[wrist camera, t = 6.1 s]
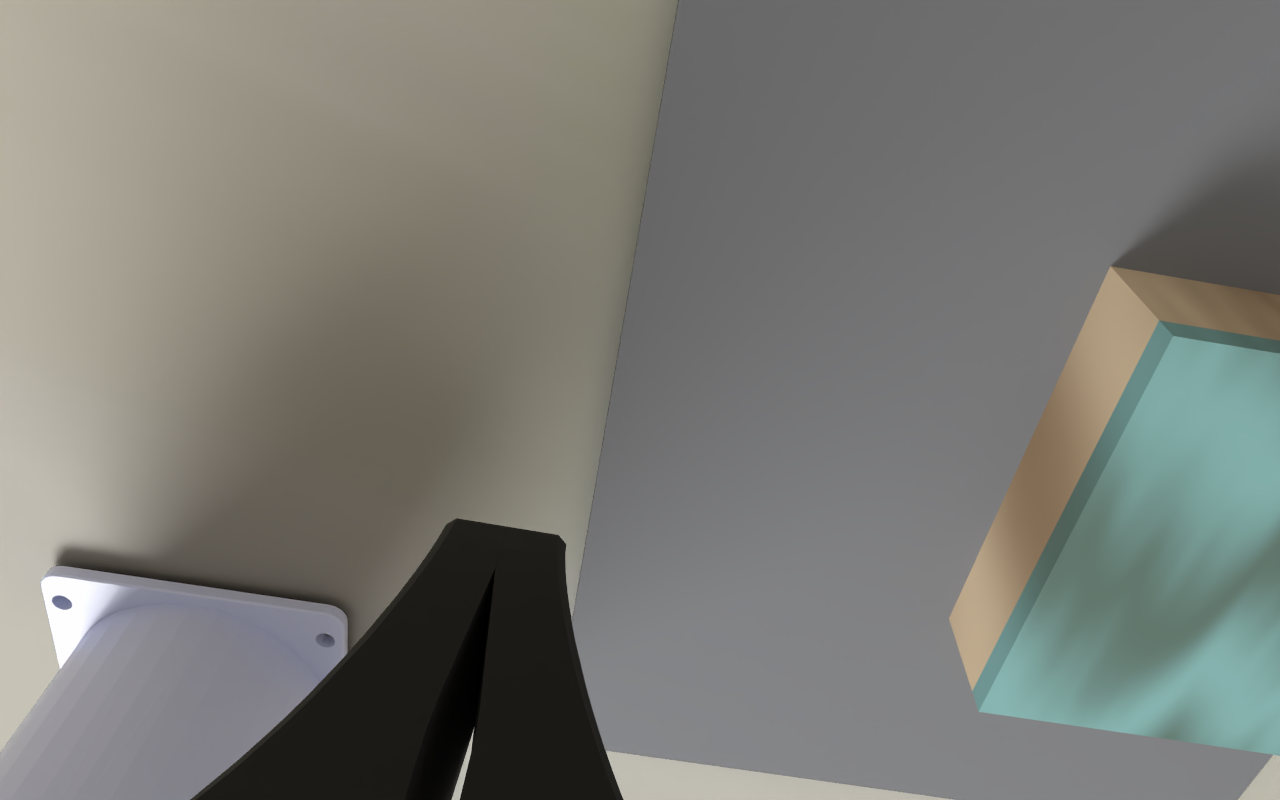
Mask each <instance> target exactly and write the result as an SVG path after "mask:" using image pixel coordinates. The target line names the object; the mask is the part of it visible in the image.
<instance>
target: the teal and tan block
mask: <svg viewBox="0 0 1280 800" xmlns="http://www.w3.org/2000/svg"><path fill="white" fill-rule="evenodd" d="M949 620H950V624H951V627H952V630H953V633H954V636H955V639H956V642H957V645H958V649H959V652H960V655H961V658H962V661H963V664H964V667H965V671H966V674H967V677H968V680H969V683H970V686H971V689H972V692H973V696H974V699H975V702H976V705H977V708H978V711H979V712H984V713H990V714H997V715H1004V716H1011V717H1018V718H1025V719H1032V720H1039V721H1046V722H1052V723H1059V724H1066V725H1073V726H1080V727H1087V728H1094V729H1101V730H1108V731H1114V732H1121V733H1128V734H1135V735H1142V736H1149V737H1156V738H1163V739H1170V740H1176V741H1183V742H1190V743H1197V744H1204V745H1211V746H1218V747H1225V748H1232V749H1238V750H1245V751H1252V752H1259V753H1266V754H1273V755H1280V295H1277V294H1271V293H1265V292H1259V291H1253V290H1247V289H1241V288H1236V287H1230V286H1224V285H1218V284H1212V283H1206V282H1200V281H1194V280H1188V279H1183V278H1177V277H1171V276H1165V275H1159V274H1153V273H1147V272H1141V271H1136V270H1130V269H1124V268H1118V267H1112V266H1110V268H1109V270H1108V272H1107V274H1106V277H1105V279H1104V281H1103V283H1102V285H1101V287H1100V290H1099V292H1098V294H1097V296H1096V298H1095V301H1094V303H1093V305H1092V307H1091V309H1090V311H1089V314H1088V316H1087V318H1086V320H1085V322H1084V325H1083V327H1082V329H1081V331H1080V333H1079V335H1078V338H1077V340H1076V342H1075V344H1074V346H1073V349H1072V351H1071V353H1070V355H1069V357H1068V359H1067V362H1066V364H1065V366H1064V368H1063V370H1062V373H1061V375H1060V377H1059V379H1058V381H1057V384H1056V386H1055V388H1054V390H1053V392H1052V394H1051V397H1050V399H1049V401H1048V403H1047V405H1046V408H1045V410H1044V412H1043V414H1042V416H1041V418H1040V421H1039V423H1038V425H1037V427H1036V429H1035V432H1034V434H1033V436H1032V438H1031V440H1030V442H1029V445H1028V447H1027V449H1026V451H1025V453H1024V456H1023V458H1022V460H1021V462H1020V464H1019V466H1018V469H1017V471H1016V473H1015V475H1014V477H1013V480H1012V482H1011V484H1010V486H1009V488H1008V490H1007V493H1006V495H1005V497H1004V499H1003V501H1002V504H1001V506H1000V508H999V510H998V512H997V514H996V517H995V519H994V521H993V523H992V525H991V528H990V530H989V532H988V534H987V536H986V538H985V541H984V543H983V545H982V547H981V549H980V552H979V554H978V556H977V558H976V560H975V563H974V565H973V567H972V569H971V571H970V573H969V576H968V578H967V580H966V582H965V584H964V587H963V589H962V591H961V593H960V595H959V597H958V600H957V602H956V604H955V606H954V608H953V611H952V613H951V615H950V617H949Z"/></svg>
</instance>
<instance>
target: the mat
mask: <svg viewBox="0 0 1280 800" xmlns="http://www.w3.org/2000/svg"><path fill="white" fill-rule="evenodd" d="M1110 266H1112V267H1118V268H1124V269H1130V270H1136V271H1141V272H1147V273H1153V274H1159V275H1165V276H1171V277H1177V278H1183V279H1188V280H1194V281H1200V282H1206V283H1212V284H1218V285H1224V286H1230V287H1236V288H1241V289H1247V290H1253V291H1259V292H1265V293H1271V294H1277V295H1280V0H678V6H677V12H676V18H675V24H674V29H673V35H672V41H671V47H670V53H669V59H668V64H667V70H666V76H665V82H664V88H663V94H662V100H661V105H660V111H659V117H658V123H657V129H656V135H655V140H654V146H653V152H652V158H651V164H650V170H649V175H648V181H647V187H646V193H645V199H644V205H643V210H642V216H641V222H640V228H639V234H638V240H637V245H636V251H635V257H634V263H633V269H632V275H631V280H630V286H629V292H628V298H627V304H626V310H625V315H624V321H623V327H622V333H621V339H620V345H619V350H618V356H617V362H616V368H615V374H614V380H613V385H612V391H611V397H610V403H609V409H608V415H607V420H606V426H605V432H604V438H603V444H602V450H601V455H600V461H599V467H598V473H597V479H596V485H595V490H594V496H593V502H592V508H591V514H590V520H589V526H588V531H587V537H586V543H585V549H584V555H583V561H582V566H581V572H580V578H579V584H578V590H577V596H576V601H575V607H574V613H573V619H572V626H573V631H574V636H575V642H576V646H577V650H578V654H579V659H580V663H581V667H582V671H583V676H584V680H585V684H586V688H587V691H588V695H589V699H590V702H591V706H592V709H593V713H594V716H595V719H596V722H597V726H598V729H599V732H600V735H601V738H602V742H603V745H604V748H605V750H606V751H613V752H620V753H627V754H634V755H641V756H649V757H656V758H663V759H670V760H677V761H684V762H691V763H698V764H706V765H713V766H720V767H727V768H734V769H741V770H748V771H755V772H763V773H770V774H777V775H784V776H791V777H798V778H805V779H812V780H820V781H827V782H834V783H841V784H848V785H855V786H862V787H870V788H877V789H884V790H891V791H898V792H905V793H912V794H919V795H927V796H934V797H941V798H948V799H955V800H1238V799H1239V797H1240V796H1241V795H1242V794H1243V792H1244V791H1245V790H1246V789H1247V787H1248V786H1249V785H1250V783H1251V782H1252V781H1253V780H1254V778H1255V777H1256V776H1257V775H1258V773H1259V772H1260V771H1261V769H1262V768H1263V767H1264V766H1265V764H1266V763H1267V762H1268V761H1269V759H1270V758H1271V757H1272V756H1273V754H1266V753H1259V752H1252V751H1245V750H1238V749H1232V748H1225V747H1218V746H1211V745H1204V744H1197V743H1190V742H1183V741H1176V740H1170V739H1163V738H1156V737H1149V736H1142V735H1135V734H1128V733H1121V732H1114V731H1108V730H1101V729H1094V728H1087V727H1080V726H1073V725H1066V724H1059V723H1052V722H1046V721H1039V720H1032V719H1025V718H1018V717H1011V716H1004V715H997V714H990V713H984V712H979V711H978V708H977V705H976V702H975V699H974V696H973V692H972V689H971V686H970V683H969V680H968V677H967V674H966V671H965V667H964V664H963V661H962V658H961V655H960V652H959V649H958V645H957V642H956V639H955V636H954V633H953V630H952V627H951V624H950V620H949V617H950V615H951V613H952V611H953V608H954V606H955V604H956V602H957V600H958V597H959V595H960V593H961V591H962V589H963V587H964V584H965V582H966V580H967V578H968V576H969V573H970V571H971V569H972V567H973V565H974V563H975V560H976V558H977V556H978V554H979V552H980V549H981V547H982V545H983V543H984V541H985V538H986V536H987V534H988V532H989V530H990V528H991V525H992V523H993V521H994V519H995V517H996V514H997V512H998V510H999V508H1000V506H1001V504H1002V501H1003V499H1004V497H1005V495H1006V493H1007V490H1008V488H1009V486H1010V484H1011V482H1012V480H1013V477H1014V475H1015V473H1016V471H1017V469H1018V466H1019V464H1020V462H1021V460H1022V458H1023V456H1024V453H1025V451H1026V449H1027V447H1028V445H1029V442H1030V440H1031V438H1032V436H1033V434H1034V432H1035V429H1036V427H1037V425H1038V423H1039V421H1040V418H1041V416H1042V414H1043V412H1044V410H1045V408H1046V405H1047V403H1048V401H1049V399H1050V397H1051V394H1052V392H1053V390H1054V388H1055V386H1056V384H1057V381H1058V379H1059V377H1060V375H1061V373H1062V370H1063V368H1064V366H1065V364H1066V362H1067V359H1068V357H1069V355H1070V353H1071V351H1072V349H1073V346H1074V344H1075V342H1076V340H1077V338H1078V335H1079V333H1080V331H1081V329H1082V327H1083V325H1084V322H1085V320H1086V318H1087V316H1088V314H1089V311H1090V309H1091V307H1092V305H1093V303H1094V301H1095V298H1096V296H1097V294H1098V292H1099V290H1100V287H1101V285H1102V283H1103V281H1104V279H1105V277H1106V274H1107V272H1108V270H1109V268H1110Z"/></svg>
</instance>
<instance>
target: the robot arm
mask: <svg viewBox="0 0 1280 800" xmlns="http://www.w3.org/2000/svg"><path fill="white" fill-rule="evenodd" d="M565 550H566V544H565V543H564V541H563V540H562V539H561V538H560V536H559V535H554V534H548V533H542V532H536V531H530V530H524V529H517V528H511V527H505V526H499V525H493V524H487V523H481V522H475V521H469V520H462V519H455V520H453V521H451V522H450V523H448V524H446V526H445V528H444V529H443V531H442V533H441V534H440V536H439V538H438V539H437V541H436V543H435V544H434V546H433V547H432V549H431V550H430V552H429V553H428V555H427V556H426V558H425V559H424V560H423V562H422V563H421V565H420V566H419V567H418V569H417V570H416V571H415V573H414V574H413V575H412V577H411V578H410V579H409V581H408V582H407V583H406V585H405V586H404V587H403V589H402V590H401V591H400V592H399V594H398V595H397V596H396V597H395V599H394V600H393V601H392V602H391V603H390V605H389V606H388V607H387V608H386V609H385V611H384V612H383V613H382V614H381V615H380V617H379V618H378V619H377V620H376V621H375V623H374V624H373V625H372V626H371V627H370V629H369V630H368V631H367V632H366V633H365V634H364V636H363V637H362V638H361V639H360V640H359V641H358V642H357V644H356V645H355V646H354V647H353V648H352V649H351V650H350V651H349V652H348V620H347V617H346V615H345V613H344V612H343V611H342V610H341V609H339V608H337V607H336V606H332V605H328V604H321V603H314V602H307V601H300V600H294V599H287V598H280V597H273V596H266V595H259V594H252V593H246V592H239V591H232V590H225V589H218V588H211V587H204V586H198V585H191V584H184V583H177V582H170V581H163V580H156V579H150V578H143V577H136V576H129V575H122V574H115V573H108V572H102V571H95V570H88V569H81V568H74V567H67V566H55V567H52V568H50V569H49V571H48V572H47V573H46V574H45V576H44V577H43V578H42V579H41V588H42V592H43V597H44V601H45V605H46V610H47V614H48V619H49V623H50V627H51V632H52V636H53V640H54V645H55V649H56V654H57V658H58V662H59V667H60V670H59V671H58V673H57V674H56V676H55V677H54V678H53V680H52V681H51V683H50V684H49V685H48V687H47V688H46V689H45V691H44V692H43V694H42V695H41V696H40V698H39V699H38V701H37V702H36V703H35V705H34V706H33V708H32V709H31V710H30V712H29V713H28V715H27V716H26V717H25V719H24V720H23V721H22V723H21V724H20V726H19V727H18V728H17V730H16V731H15V733H14V734H13V735H12V737H11V738H10V740H9V741H8V742H7V744H6V745H5V747H4V748H3V749H2V751H1V752H0V800H451V799H452V796H453V793H454V790H455V786H456V783H457V780H458V777H459V774H460V771H461V767H462V764H463V761H464V758H465V755H466V752H467V748H468V745H469V742H470V739H471V736H472V733H473V729H474V735H473V743H472V752H471V756H470V760H469V764H468V769H467V773H466V777H465V781H464V785H463V789H462V793H461V798H460V800H623V798H622V795H621V793H620V790H619V788H618V785H617V782H616V779H615V777H614V774H613V771H612V768H611V765H610V763H609V760H608V757H607V754H606V751H605V748H604V745H603V742H602V738H601V735H600V732H599V729H598V726H597V722H596V719H595V716H594V713H593V709H592V706H591V702H590V699H589V695H588V691H587V688H586V684H585V680H584V676H583V671H582V667H581V663H580V659H579V654H578V650H577V646H576V642H575V636H574V631H573V626H572V621H571V614H570V608H569V601H568V594H567V585H566V572H565ZM324 634H328V635H330V636H332V637H329V636H326V635H324Z"/></svg>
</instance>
